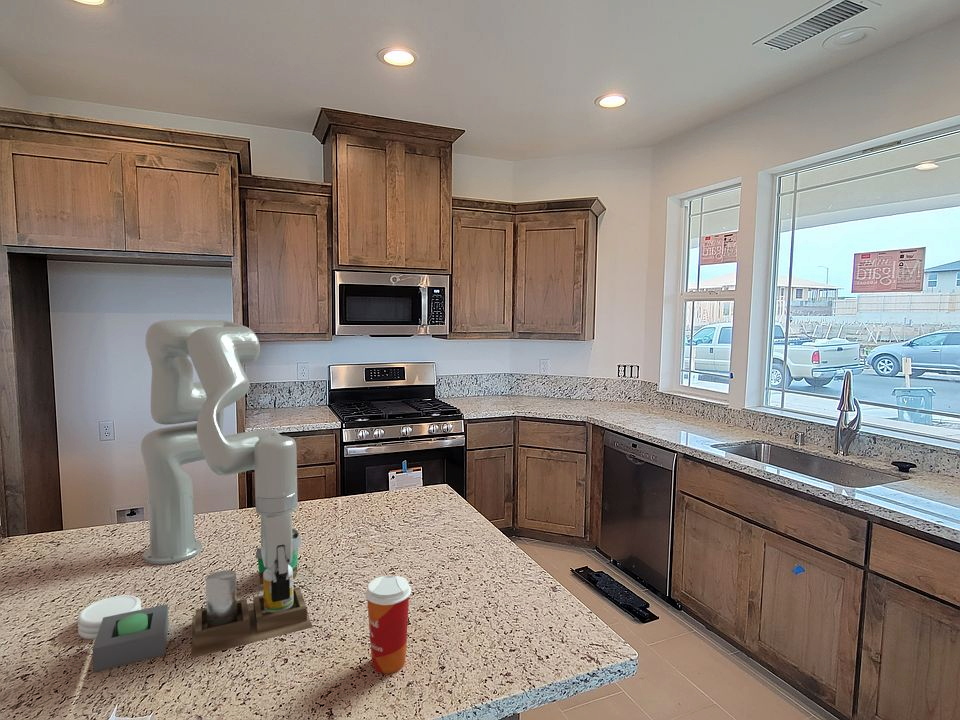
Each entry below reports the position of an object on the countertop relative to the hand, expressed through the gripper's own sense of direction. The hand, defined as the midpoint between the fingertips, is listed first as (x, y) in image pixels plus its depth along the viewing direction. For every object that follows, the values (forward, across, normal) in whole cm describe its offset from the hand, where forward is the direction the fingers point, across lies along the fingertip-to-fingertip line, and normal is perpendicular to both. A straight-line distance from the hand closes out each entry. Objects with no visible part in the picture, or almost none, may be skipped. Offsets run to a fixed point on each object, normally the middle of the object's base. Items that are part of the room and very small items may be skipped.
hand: (278, 591), depth 102 cm
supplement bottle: (+3, 0, 0) cm, 3 cm away
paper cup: (+6, +22, +15) cm, 27 cm away
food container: (+6, -15, +3) cm, 16 cm away
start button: (+4, -1, -24) cm, 24 cm away
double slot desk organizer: (+6, 0, -5) cm, 8 cm away
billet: (+5, 0, -10) cm, 11 cm away
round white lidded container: (+6, -13, -29) cm, 32 cm away
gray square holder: (+6, -1, -24) cm, 25 cm away
